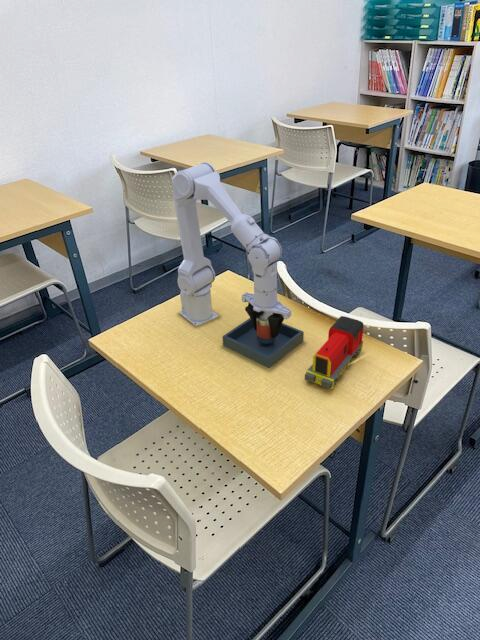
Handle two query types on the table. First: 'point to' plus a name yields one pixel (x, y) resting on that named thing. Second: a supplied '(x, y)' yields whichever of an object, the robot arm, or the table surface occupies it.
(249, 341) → the tub
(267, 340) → the tin can
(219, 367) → the table surface
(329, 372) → the toy train
